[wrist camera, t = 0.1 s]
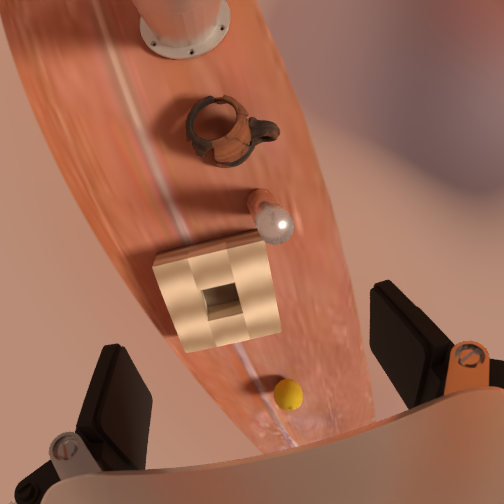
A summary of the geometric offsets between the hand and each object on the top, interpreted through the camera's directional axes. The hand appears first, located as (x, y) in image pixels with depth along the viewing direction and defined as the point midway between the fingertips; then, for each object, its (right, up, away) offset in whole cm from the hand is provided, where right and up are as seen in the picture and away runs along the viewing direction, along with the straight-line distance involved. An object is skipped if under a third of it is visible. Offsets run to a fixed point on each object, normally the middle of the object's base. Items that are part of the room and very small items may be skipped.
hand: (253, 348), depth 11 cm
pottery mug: (-3, +20, +32) cm, 38 cm away
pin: (+1, +11, +36) cm, 37 cm away
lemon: (+6, -23, +51) cm, 56 cm away
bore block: (-5, -2, +40) cm, 41 cm away
